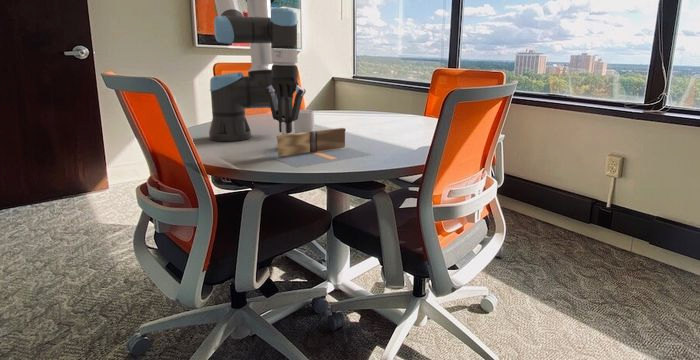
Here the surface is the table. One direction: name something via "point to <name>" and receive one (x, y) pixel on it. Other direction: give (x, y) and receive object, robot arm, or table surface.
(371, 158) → the table surface
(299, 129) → the mug
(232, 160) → the table surface
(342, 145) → the base
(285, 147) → the wooden board
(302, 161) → the card
